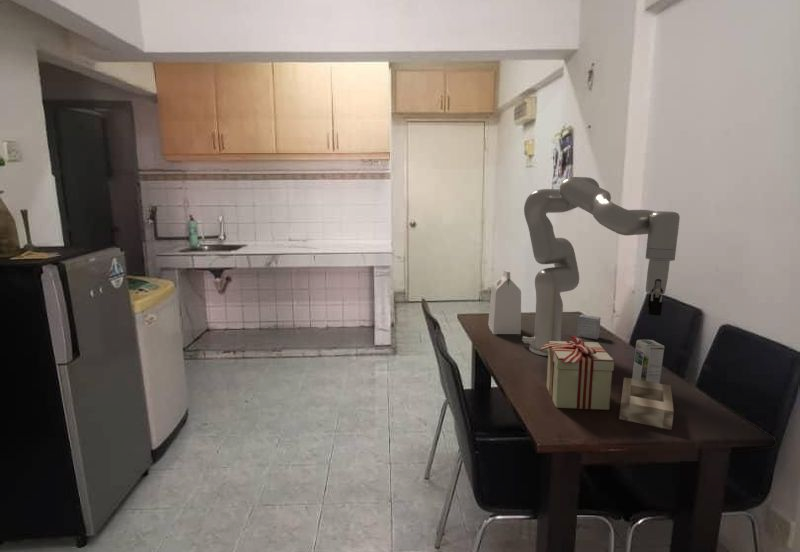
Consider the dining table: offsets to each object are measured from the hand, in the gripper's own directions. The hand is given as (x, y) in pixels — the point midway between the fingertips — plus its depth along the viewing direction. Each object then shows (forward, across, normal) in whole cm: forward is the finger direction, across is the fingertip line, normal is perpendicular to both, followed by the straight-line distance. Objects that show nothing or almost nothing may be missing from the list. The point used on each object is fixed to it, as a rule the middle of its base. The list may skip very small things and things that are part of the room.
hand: (654, 311), depth 138 cm
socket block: (+24, +17, 0) cm, 30 cm away
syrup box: (+24, 0, 0) cm, 25 cm away
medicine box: (+24, -45, -21) cm, 55 cm away
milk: (+24, -37, -54) cm, 70 cm away
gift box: (+24, +20, -19) cm, 37 cm away
